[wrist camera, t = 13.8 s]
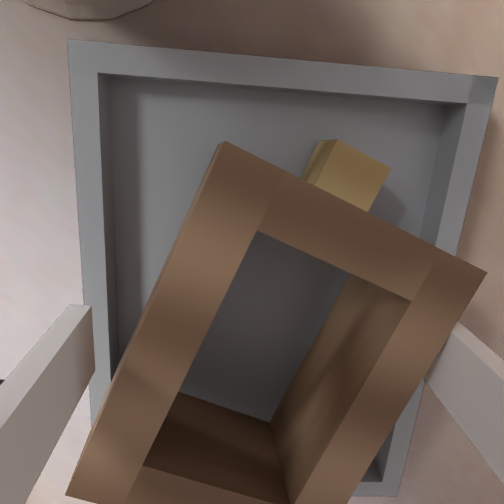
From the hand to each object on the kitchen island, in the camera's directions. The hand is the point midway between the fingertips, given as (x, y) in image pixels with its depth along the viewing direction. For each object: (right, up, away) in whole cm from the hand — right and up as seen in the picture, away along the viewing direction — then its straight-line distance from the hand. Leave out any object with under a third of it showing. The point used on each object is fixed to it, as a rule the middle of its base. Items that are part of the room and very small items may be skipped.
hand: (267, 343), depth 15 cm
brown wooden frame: (0, +1, +3) cm, 3 cm away
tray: (0, +1, +5) cm, 5 cm away
